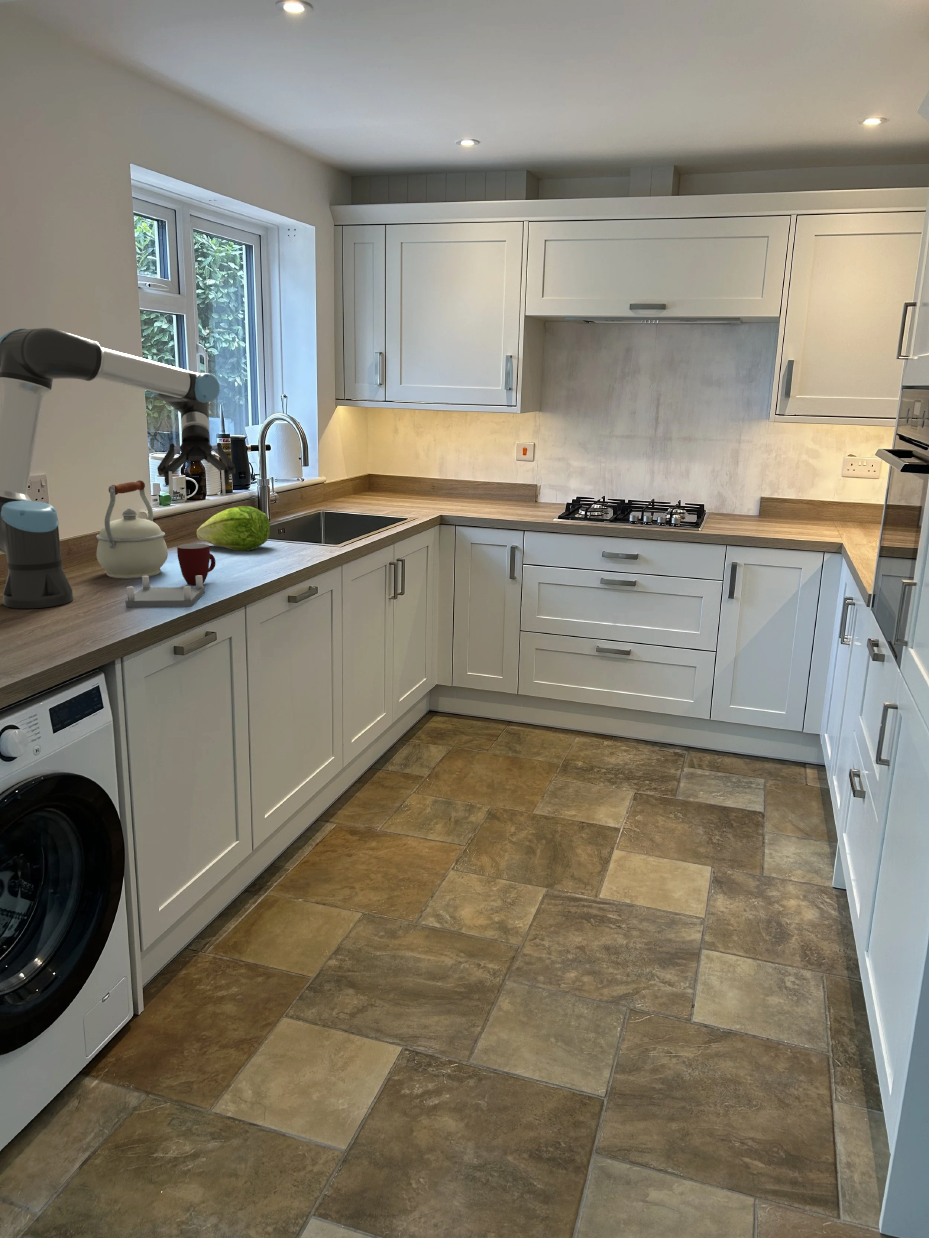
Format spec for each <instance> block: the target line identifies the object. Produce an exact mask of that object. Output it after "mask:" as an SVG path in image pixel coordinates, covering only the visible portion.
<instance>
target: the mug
mask: <svg viewBox="0 0 929 1238" xmlns="http://www.w3.org/2000/svg"><path fill="white" fill-rule="evenodd" d="M176 550H177V551H176V552H177V559H178V564H179V567H180V570H181V571H180V572H181V575H182V577H183V579H184V582H186V584H187V586H192V587H196V576H197V575H202V579H203V585H204V584H205V582H206V579H207V577H208V575H209V573H210V572H212V571H213V570H214V569H215V567H216V558H215V556H214V555H213V554H212V553H211V550H210V545H209V544H206V543H186V544H180V545H178V546H177V547H176Z"/></svg>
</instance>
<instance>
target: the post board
mask: <svg viewBox="0 0 929 1238" xmlns="http://www.w3.org/2000/svg"><path fill="white" fill-rule="evenodd" d="M141 579H142V580H141V582H142V583H141V584H142V588H140V589H139V590H138V591H136V592H135V586H127V587H126V596H127V598H126V600H125V607H126V608H157V607H158V608H161V607H162V608H165V607H166V608H168V607H169V608H171V607H174V608H175V607H176V608H177V607H183V608H184V607H192V606H194V605H195V603H197V601H199V600H200V598H202V596H204V595H205V594H206V590H205V589H206V588H205V586H204V584H203V579H202V575H197V576H196V585H195V586H191V585H184V586H176V587H175V586H169V587H167V586H166V587H165V586H164V587H163V586H160V587H159V586H157V587H156V586H155V587H153V586H152V587H151V586H150V577H149V576H142V578H141Z"/></svg>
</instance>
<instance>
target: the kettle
mask: <svg viewBox="0 0 929 1238" xmlns="http://www.w3.org/2000/svg"><path fill="white" fill-rule="evenodd" d="M145 488H146V484H145V482H144V480H140V479H139V480H137V481H130V482H124V483H119V484H117V485H116V484H111V485H109V486H108V492H109V494H110V495H109V496H110V497H109V499H110V500H109V504H108V507H107V510H106V512H105V516H104V525H103V526H102V527H101V529H100V531H99V534H97V535H96V539H97V540H98V543H97V546H96V547H97V548H96V560H97V562H98V563H99V565H100V566H101V567H102V568H103V569H104V570H105V571H106V575H107V576H108V577H109V578H112V579H113V578H114V579H126V580H128V579H142V576H149V578H151V577H154V576H157V575H159V574H160V573H161V572H162V569H161V568H162V567H163V565H164V564H165V563H166V561H167V559H168V554H169V552H168V547H167V543H166V541H165V538H164V537H165V536H166V533H165V532H164V531H162V529H161V527H160V526H159V525H158V524H157V522H154V511H153V507H152V506H151V504H150V502H149V500H148V498H147V496H146V493H145ZM135 491H138V492H139V495H140V498H141V500H142V501H143V503H144V506H145V507H146V509H147V516H148V518H147V519H146V518H140V517H137V515H138V513H137V512H136V511H135V510H133V509H131V508H127V509H125V510H124V511H123V512H122V513H121V516H122V517H123V518H119V519H114V520H111V516H112V513H113V510H114V507H115V505H116V504H115V503H116V495H118V494H125V493H127V494H128V493H132V492H135Z"/></svg>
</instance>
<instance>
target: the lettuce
mask: <svg viewBox="0 0 929 1238" xmlns="http://www.w3.org/2000/svg"><path fill="white" fill-rule="evenodd" d="M270 523H271V522H270V520H269V517H268V515H267V514H266V513H264V512H263V511H261V510H260V509H258V508H257V507H256V508H255V507H253V506H251V505H250V506H249V505H248V506H247V505H246V506H245V505H244V506H243V505H241V506H235V507H231V508H226V509H224V510H222V511H220V512H217V513H216V514H214V515H212V516H211V517H210V518H208V519H207V520H206V521H205V522H203V523H202V524H201V525H200V526H199V527H198V528H197V529H196V537H197V539H199V540H200V541H203V542H206V543H208V544H211V545H213V546H216V547H218V548H219V547H220V548H226V549H229V550H233V551H246V552H247V551H252V550H255V549H258V548H259V547H261V546H262V545H264V544H265V543H266V542H267V541H268V539H269V537H270V535H271V524H270Z"/></svg>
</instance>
